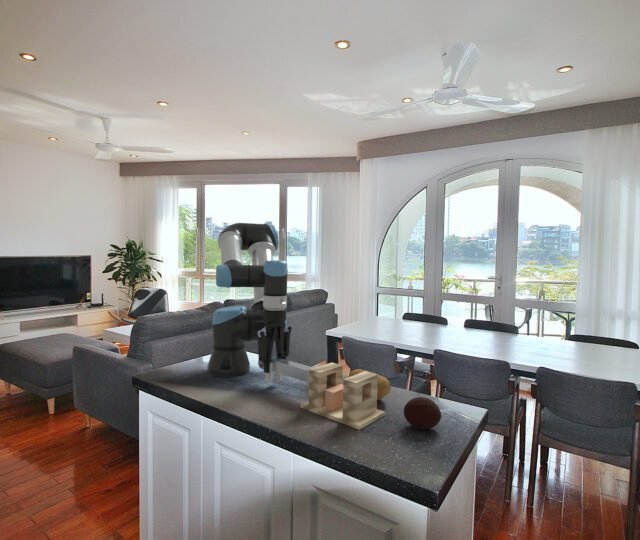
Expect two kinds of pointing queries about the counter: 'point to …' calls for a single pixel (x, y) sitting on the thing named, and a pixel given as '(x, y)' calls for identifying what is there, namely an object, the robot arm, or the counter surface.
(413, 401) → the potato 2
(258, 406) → the counter surface
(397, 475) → the counter surface
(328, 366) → the bearing stand
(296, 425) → the counter surface
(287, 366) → the shaft
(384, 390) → the potato
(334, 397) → the spacer
